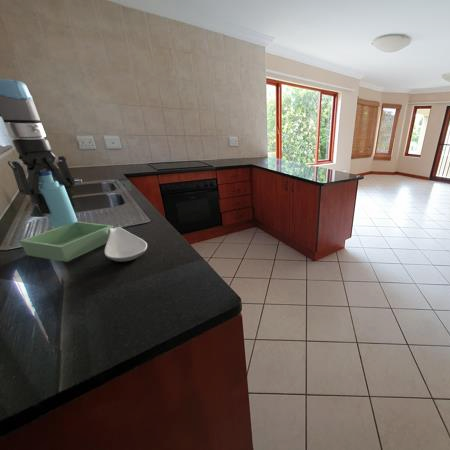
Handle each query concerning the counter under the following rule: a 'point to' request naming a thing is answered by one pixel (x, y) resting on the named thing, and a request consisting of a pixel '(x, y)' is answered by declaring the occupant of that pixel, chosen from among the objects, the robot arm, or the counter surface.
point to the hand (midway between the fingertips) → (59, 209)
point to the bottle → (56, 200)
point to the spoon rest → (123, 245)
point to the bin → (67, 241)
